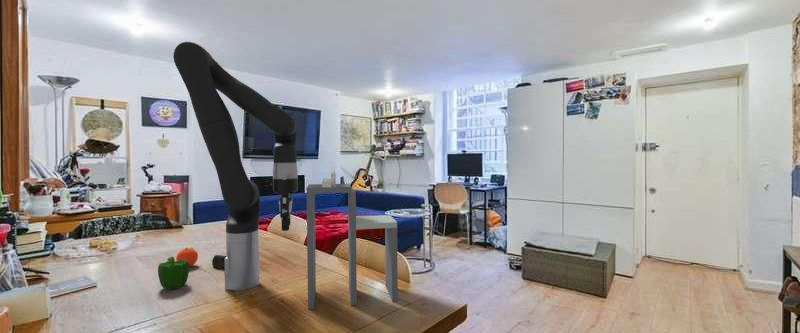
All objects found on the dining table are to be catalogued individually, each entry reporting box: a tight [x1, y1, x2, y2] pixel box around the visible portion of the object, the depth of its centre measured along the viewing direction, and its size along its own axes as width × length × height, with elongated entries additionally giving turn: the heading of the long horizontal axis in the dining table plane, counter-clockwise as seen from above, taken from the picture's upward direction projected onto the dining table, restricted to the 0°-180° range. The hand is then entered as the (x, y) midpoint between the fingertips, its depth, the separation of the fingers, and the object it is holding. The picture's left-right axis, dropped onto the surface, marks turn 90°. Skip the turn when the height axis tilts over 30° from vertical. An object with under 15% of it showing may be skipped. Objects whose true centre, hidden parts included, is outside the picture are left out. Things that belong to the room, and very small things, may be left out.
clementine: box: [175, 247, 199, 268], centre depth 128 cm, size 8×7×7 cm
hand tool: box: [211, 254, 227, 270], centre depth 125 cm, size 19×4×5 cm, turn 69°
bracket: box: [321, 170, 337, 187], centre depth 101 cm, size 4×20×4 cm, turn 11°
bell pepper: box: [157, 256, 190, 290], centre depth 107 cm, size 8×8×10 cm
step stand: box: [306, 183, 399, 310], centre depth 99 cm, size 24×12×32 cm, turn 101°
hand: (286, 228), depth 110 cm, fingers open, 8 cm apart
